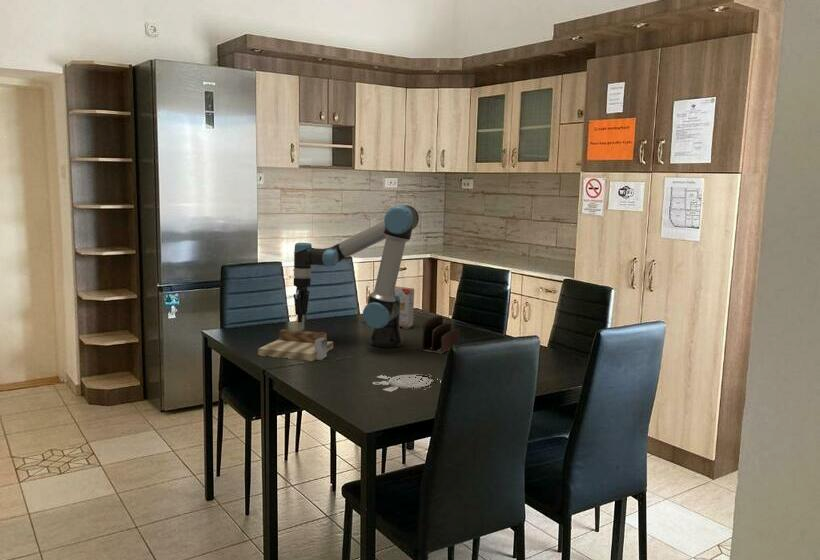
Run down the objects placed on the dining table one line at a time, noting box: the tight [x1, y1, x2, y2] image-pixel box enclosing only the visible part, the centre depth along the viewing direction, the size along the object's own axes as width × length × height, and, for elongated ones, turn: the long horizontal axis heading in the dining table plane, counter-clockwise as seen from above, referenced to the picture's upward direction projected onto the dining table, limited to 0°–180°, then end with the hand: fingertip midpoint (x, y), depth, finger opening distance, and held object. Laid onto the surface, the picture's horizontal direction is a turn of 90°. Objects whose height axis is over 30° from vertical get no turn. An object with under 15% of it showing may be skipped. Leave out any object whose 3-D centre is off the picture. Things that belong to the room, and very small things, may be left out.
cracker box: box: [393, 285, 415, 327], centre depth 345 cm, size 14×6×21 cm, turn 62°
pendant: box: [372, 373, 442, 393], centre depth 246 cm, size 21×28×1 cm
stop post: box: [314, 338, 328, 361], centre depth 276 cm, size 3×6×8 cm, turn 165°
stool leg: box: [278, 328, 328, 343], centre depth 293 cm, size 21×4×5 cm, turn 76°
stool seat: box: [257, 338, 334, 362], centre depth 286 cm, size 24×24×3 cm
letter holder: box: [421, 315, 461, 352], centre depth 301 cm, size 10×20×14 cm, turn 153°
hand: (300, 328), depth 302 cm, fingers closed
